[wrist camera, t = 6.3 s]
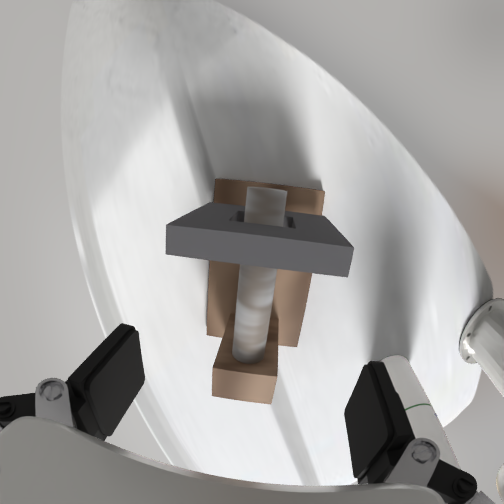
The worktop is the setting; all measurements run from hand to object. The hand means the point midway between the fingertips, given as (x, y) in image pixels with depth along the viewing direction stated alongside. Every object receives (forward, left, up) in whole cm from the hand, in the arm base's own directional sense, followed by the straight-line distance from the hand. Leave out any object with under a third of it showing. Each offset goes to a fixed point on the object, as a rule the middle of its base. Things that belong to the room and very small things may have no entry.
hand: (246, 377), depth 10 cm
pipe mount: (0, +4, -23) cm, 24 cm away
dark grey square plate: (0, -3, -20) cm, 20 cm away
